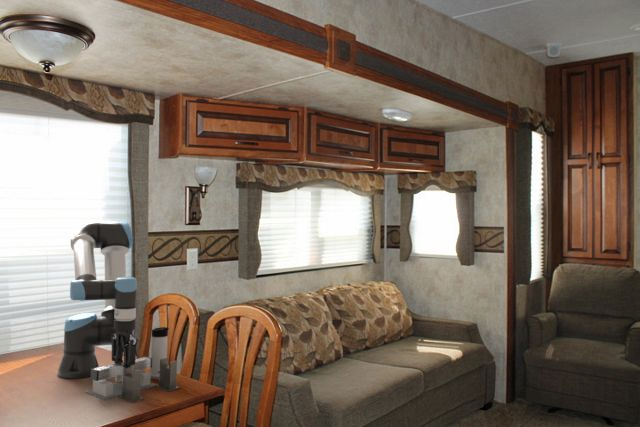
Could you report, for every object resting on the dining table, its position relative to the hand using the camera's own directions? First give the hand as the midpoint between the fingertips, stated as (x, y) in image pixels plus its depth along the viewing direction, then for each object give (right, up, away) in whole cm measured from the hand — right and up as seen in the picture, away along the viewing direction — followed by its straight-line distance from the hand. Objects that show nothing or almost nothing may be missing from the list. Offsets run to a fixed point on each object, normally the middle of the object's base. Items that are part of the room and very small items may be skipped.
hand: (122, 382), depth 204 cm
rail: (0, +3, 0) cm, 3 cm away
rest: (0, -3, 0) cm, 3 cm away
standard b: (+16, -3, +4) cm, 16 cm away
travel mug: (+9, -3, +16) cm, 18 cm away
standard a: (+7, -3, -9) cm, 12 cm away
